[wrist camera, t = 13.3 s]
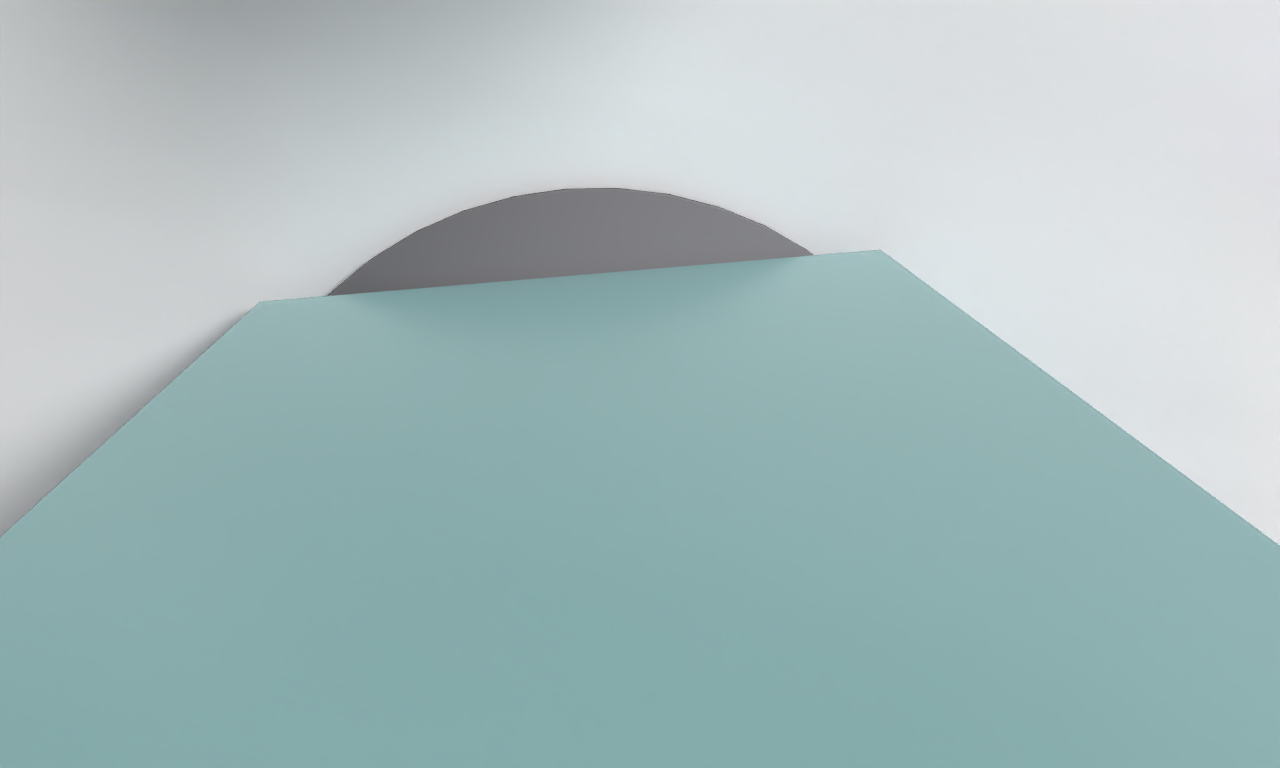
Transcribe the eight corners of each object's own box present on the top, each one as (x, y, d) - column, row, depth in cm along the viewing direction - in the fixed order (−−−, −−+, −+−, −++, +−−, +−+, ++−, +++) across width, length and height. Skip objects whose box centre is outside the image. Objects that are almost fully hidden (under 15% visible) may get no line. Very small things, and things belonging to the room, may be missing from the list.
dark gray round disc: (925, 772, 16) (930, 781, 15) (316, 835, 15) (312, 845, 15) (960, 157, 12) (965, 159, 12) (158, 220, 12) (151, 224, 11)
